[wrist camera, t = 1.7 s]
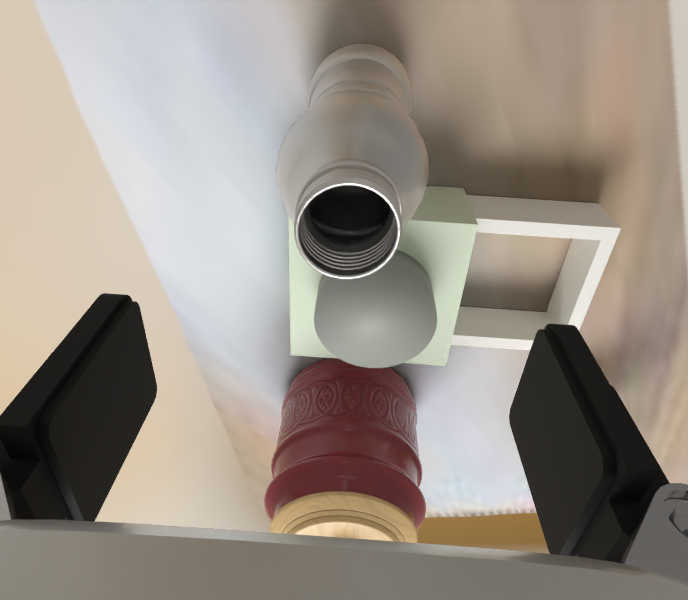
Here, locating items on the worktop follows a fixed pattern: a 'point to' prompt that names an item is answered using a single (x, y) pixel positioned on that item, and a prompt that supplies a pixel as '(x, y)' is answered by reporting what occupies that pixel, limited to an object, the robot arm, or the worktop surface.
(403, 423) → the canister
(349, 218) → the silver bottle
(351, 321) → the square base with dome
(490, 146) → the worktop surface
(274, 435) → the worktop surface
